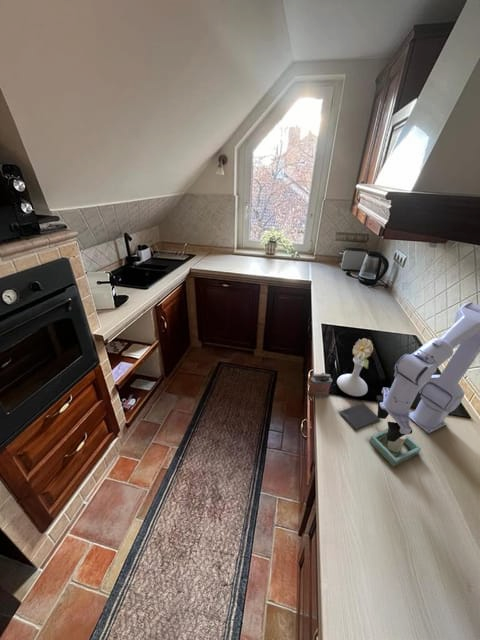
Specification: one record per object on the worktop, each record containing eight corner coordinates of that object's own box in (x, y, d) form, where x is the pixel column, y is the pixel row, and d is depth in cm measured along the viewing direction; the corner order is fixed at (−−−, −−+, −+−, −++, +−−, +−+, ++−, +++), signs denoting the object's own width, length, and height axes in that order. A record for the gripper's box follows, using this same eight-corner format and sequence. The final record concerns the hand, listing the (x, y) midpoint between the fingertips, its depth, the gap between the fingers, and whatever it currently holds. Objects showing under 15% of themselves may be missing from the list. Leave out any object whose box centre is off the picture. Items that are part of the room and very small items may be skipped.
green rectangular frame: (393, 430, 85) (395, 425, 83) (418, 453, 78) (421, 448, 76) (369, 441, 81) (371, 436, 80) (393, 466, 74) (396, 461, 73)
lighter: (326, 390, 99) (331, 371, 94) (329, 397, 96) (335, 377, 92) (306, 390, 99) (310, 371, 94) (308, 397, 96) (313, 377, 91)
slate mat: (362, 403, 94) (362, 402, 94) (379, 419, 88) (379, 418, 88) (339, 412, 90) (339, 411, 90) (355, 430, 84) (355, 428, 84)
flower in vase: (335, 375, 107) (349, 325, 95) (364, 381, 105) (382, 330, 92) (337, 398, 96) (353, 344, 84) (369, 405, 94) (391, 350, 81)
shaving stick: (392, 440, 81) (399, 427, 78) (401, 450, 78) (409, 436, 75) (384, 444, 80) (391, 431, 77) (394, 453, 77) (401, 440, 74)
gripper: (377, 374, 74) (364, 407, 81) (396, 415, 62) (379, 449, 68) (402, 377, 73) (387, 410, 80) (427, 419, 61) (407, 453, 67)
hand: (385, 428), depth 74 cm, fingers open, 7 cm apart
